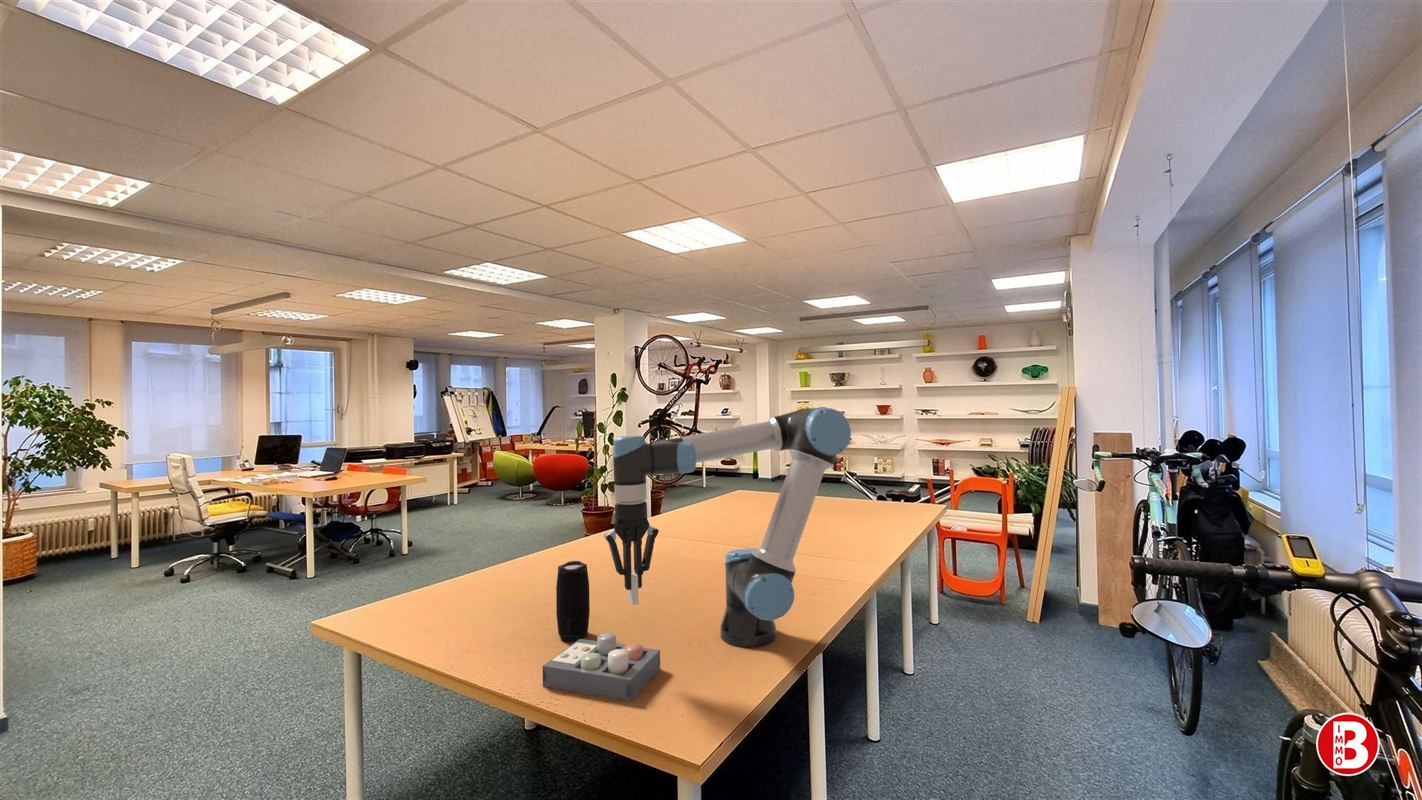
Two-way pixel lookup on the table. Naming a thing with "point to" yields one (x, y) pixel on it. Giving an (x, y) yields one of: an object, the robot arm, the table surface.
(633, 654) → the button terracotta
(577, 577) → the portable speaker
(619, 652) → the button ivory
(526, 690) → the table surface
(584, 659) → the button sage
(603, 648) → the button grey
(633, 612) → the table surface
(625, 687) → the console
